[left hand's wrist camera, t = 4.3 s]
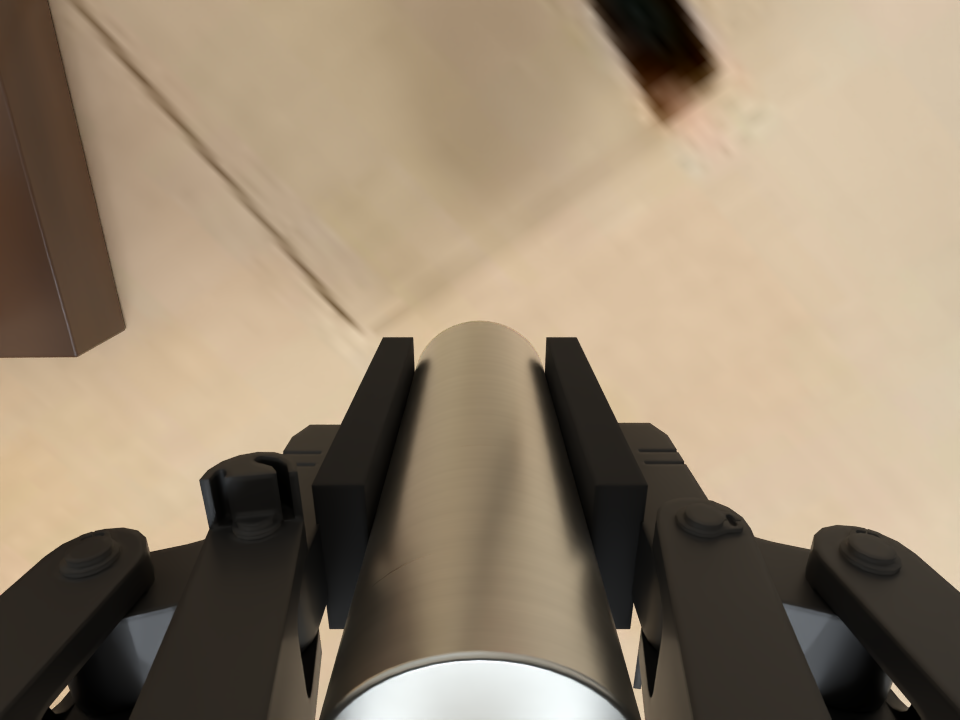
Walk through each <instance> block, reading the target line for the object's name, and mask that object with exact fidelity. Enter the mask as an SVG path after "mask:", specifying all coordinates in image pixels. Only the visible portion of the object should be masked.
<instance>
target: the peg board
mask: <svg viewBox="0 0 960 720" xmlns="http://www.w3.org/2000/svg"><path fill="white" fill-rule="evenodd" d="M124 330H125V325H124V321H123V317H122V313H121V308H120V304H119V300H118V296H117V291H116V287H115V283H114V279H113V275H112V270H111V266H110V262H109V258H108V254H107V249H106V245H105V241H104V237H103V233H102V228H101V224H100V220H99V216H98V212H97V207H96V203H95V199H94V195H93V191H92V186H91V182H90V178H89V174H88V170H87V165H86V161H85V157H84V153H83V149H82V144H81V140H80V136H79V132H78V128H77V123H76V119H75V115H74V111H73V107H72V102H71V98H70V94H69V90H68V86H67V81H66V77H65V73H64V69H63V64H62V60H61V56H60V52H59V48H58V43H57V39H56V35H55V31H54V27H53V22H52V18H51V14H50V10H49V6H48V1H47V0H0V358H26V357H78V356H80V355H82V354H83V353H85V352H87V351H89V350H91V349H92V348H94V347H96V346H98V345H99V344H101V343H103V342H105V341H106V340H108V339H110V338H112V337H114V336H115V335H117V334H119V333H121V332H122V331H124Z"/></svg>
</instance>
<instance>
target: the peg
mask: <svg viewBox="0 0 960 720" xmlns="http://www.w3.org/2000/svg"><path fill="white" fill-rule="evenodd" d="M319 720H641V717H640V714H639V710H638V707H637V703H636V699H635V696H634V692H633V689H632V685H631V682H630V678H629V674H628V671H627V667H626V664H625V660H624V656H623V653H622V649H621V646H620V642H619V638H618V635H617V631H616V628H615V624H614V620H613V617H612V613H611V610H610V606H609V602H608V599H607V595H606V592H605V588H604V585H603V581H602V577H601V574H600V570H599V567H598V563H597V559H596V556H595V552H594V549H593V545H592V541H591V538H590V534H589V531H588V527H587V523H586V520H585V516H584V513H583V509H582V505H581V502H580V498H579V495H578V491H577V488H576V484H575V480H574V477H573V473H572V470H571V466H570V462H569V459H568V455H567V452H566V448H565V444H564V441H563V437H562V434H561V430H560V426H559V423H558V419H557V416H556V412H555V408H554V405H553V401H552V398H551V394H550V390H549V387H548V383H547V380H546V376H545V373H544V369H543V366H542V363H541V360H540V358H539V355H538V353H537V352H536V350H535V349H534V347H533V346H532V345H531V344H530V342H529V341H528V340H527V339H526V338H524V337H523V336H522V335H521V334H520V333H518V332H516V331H515V330H513V329H511V328H509V327H507V326H505V325H502V324H498V323H494V322H489V321H470V322H465V323H461V324H458V325H455V326H452V327H450V328H448V329H446V330H444V331H443V332H441V333H440V334H438V335H437V336H436V337H435V338H434V339H432V341H431V342H430V343H429V344H428V345H427V346H426V348H425V349H424V351H423V352H422V354H421V356H420V358H419V360H418V363H417V366H416V370H415V373H414V377H413V381H412V384H411V388H410V392H409V395H408V399H407V402H406V406H405V410H404V413H403V417H402V421H401V424H400V428H399V432H398V435H397V439H396V442H395V446H394V450H393V453H392V457H391V461H390V464H389V468H388V471H387V475H386V479H385V482H384V486H383V490H382V493H381V497H380V501H379V504H378V508H377V511H376V515H375V519H374V522H373V526H372V530H371V533H370V537H369V540H368V544H367V548H366V551H365V555H364V559H363V562H362V566H361V570H360V573H359V577H358V580H357V584H356V588H355V591H354V595H353V599H352V602H351V606H350V609H349V613H348V617H347V620H346V624H345V628H344V631H343V635H342V638H341V642H340V646H339V649H338V653H337V657H336V660H335V664H334V668H333V671H332V675H331V678H330V682H329V686H328V689H327V693H326V697H325V700H324V704H323V707H322V711H321V715H320V718H319Z"/></svg>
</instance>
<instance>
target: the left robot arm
mask: <svg viewBox="0 0 960 720" xmlns="http://www.w3.org/2000/svg"><path fill="white" fill-rule="evenodd" d="M414 373H415V368H414V346H413V337H383V339H382V341H381V343H380V345H379V347H378V349H377V351H376V353H375V355H374V357H373V359H372V361H371V363H370V365H369V367H368V370H367V372H366V374H365V376H364V378H363V380H362V382H361V384H360V386H359V388H358V390H357V392H356V394H355V396H354V398H353V401H352V403H351V405H350V407H349V409H348V411H347V413H346V415H345V417H344V419H343V421H342V423H341V425H309V426H308V427H306V428H305V429H303V430H302V431H300V432H299V433H297V434H296V435H295V436H293V437H292V438H291V440H290V442H289V443H288V445H287V446H286V448H285V450H284V451H283V454H279V453H275V452H255V453H250V454H244V455H239V456H236V457H233V458H230V459H228V460H225V461H222V462H220V463H219V464H217V465H216V466H214V467H212V468H211V469H209V470H208V471H207V472H206V473H205V474H204V475H203V476H202V478H201V479H200V480H199V481H200V486H201V491H202V495H203V500H204V505H205V510H206V515H207V519H208V524H209V531H208V534H207V536H206V538H205V539H204V540H201V541H198V542H194V543H190V544H186V545H182V546H177V547H172V548H167V549H162V550H157V551H153V552H150V551H149V547H148V543H147V540H146V537H145V536H143V535H142V534H141V533H140V532H139V531H137V530H133V529H128V528H112V529H103V530H97V531H95V532H90V533H87V534H83V535H81V536H79V537H77V538H75V539H73V540H71V541H69V542H66V543H64V544H62V545H61V546H59V547H58V548H56V549H55V550H54V551H52V552H51V553H49V554H48V555H46V556H45V557H44V558H43V559H41V560H40V561H39V562H38V563H37V564H36V565H35V566H34V567H32V568H31V569H30V570H29V571H28V572H27V573H26V574H24V575H23V576H22V577H21V578H20V579H19V580H18V581H16V582H15V583H14V584H13V585H12V586H11V587H10V588H8V589H7V590H6V591H5V592H4V593H3V594H2V595H0V720H315V714H316V705H317V695H318V685H319V675H320V666H321V656H322V649H321V642H320V635H319V625H320V622H321V619H322V616H323V613H324V610H325V607H326V605H327V613H328V621H329V629H344V628H345V624H346V620H347V617H348V613H349V609H350V606H351V602H352V599H353V595H354V591H355V588H356V584H357V580H358V577H359V573H360V570H361V566H362V562H363V559H364V555H365V551H366V548H367V544H368V540H369V537H370V533H371V530H372V526H373V522H374V519H375V515H376V511H377V508H378V504H379V501H380V497H381V493H382V490H383V486H384V482H385V479H386V475H387V471H388V468H389V464H390V461H391V457H392V453H393V450H394V446H395V442H396V439H397V435H398V432H399V428H400V424H401V421H402V417H403V413H404V410H405V406H406V402H407V399H408V395H409V392H410V388H411V384H412V381H413V377H414ZM545 376H546V380H547V383H548V387H549V390H550V394H551V398H552V401H553V405H554V408H555V412H556V416H557V419H558V423H559V426H560V430H561V434H562V437H563V441H564V444H565V448H566V452H567V455H568V459H569V462H570V466H571V470H572V473H573V477H574V480H575V484H576V488H577V491H578V495H579V498H580V502H581V505H582V509H583V513H584V516H585V520H586V523H587V527H588V531H589V534H590V538H591V541H592V545H593V549H594V552H595V556H596V559H597V563H598V567H599V570H600V574H601V577H602V581H603V585H604V588H605V592H606V595H607V599H608V602H609V606H610V610H611V613H612V617H613V620H614V624H615V628H616V629H630V626H631V618H632V610H633V602H634V606H635V609H636V612H637V615H638V618H639V621H640V624H641V635H640V642H639V649H638V657H637V664H636V672H635V679H634V686H633V688H637V689H641V684H642V694H643V703H644V713H645V720H960V592H959V591H958V590H957V589H955V588H954V587H953V586H952V585H951V584H950V583H948V582H947V581H946V580H945V579H944V578H943V577H942V576H940V575H939V574H938V573H937V572H936V571H935V570H934V569H932V568H931V567H930V566H929V565H928V564H927V563H925V562H924V561H923V560H922V559H921V558H920V557H919V556H917V555H916V554H915V553H914V552H912V551H911V550H909V549H908V548H906V547H905V546H903V545H902V544H901V543H899V542H898V541H895V540H893V539H891V538H889V537H887V536H884V535H882V534H880V533H878V532H876V531H873V530H869V529H868V530H867V529H865V528H861V527H856V526H843V525H835V526H830V527H825V528H822V529H821V530H820V531H818V532H817V533H816V534H815V535H814V538H813V542H812V545H811V549H805V548H800V547H795V546H790V545H785V544H780V543H775V542H771V541H767V540H764V539H760V538H757V537H754V535H753V533H752V530H751V528H750V527H749V525H748V524H747V523H746V521H745V520H744V519H743V517H741V516H740V515H739V514H737V513H736V512H734V511H733V510H731V509H730V508H728V507H726V506H724V505H721V504H719V503H716V502H714V501H711V500H708V499H707V497H706V495H705V494H704V492H703V491H702V489H701V487H700V486H699V484H698V483H697V481H696V480H695V478H694V476H693V475H692V473H691V472H690V470H689V468H688V467H687V465H686V464H684V461H683V459H682V457H681V456H680V454H679V453H678V452H677V451H676V450H677V449H676V448H675V446H674V445H673V443H672V441H671V440H670V438H669V437H668V435H667V434H665V433H664V432H662V431H661V430H659V429H658V428H656V427H655V426H653V425H652V424H651V423H618V422H617V420H616V418H615V416H614V414H613V412H612V410H611V408H610V406H609V403H608V401H607V399H606V397H605V395H604V393H603V391H602V389H601V387H600V385H599V383H598V381H597V379H596V377H595V375H594V372H593V370H592V368H591V366H590V364H589V362H588V360H587V358H586V356H585V354H584V352H583V350H582V348H581V346H580V343H579V341H578V339H577V337H546V359H545ZM892 682H894V684H895V685H896V686H897V687H898V688H899V690H900V691H901V692H902V693H903V694H904V696H905V697H906V698H907V699H908V700H909V702H910V703H911V706H910V707H907V706H906V705H905V704H904V703H903V702H902V701H901V700H900V699H899V698H898V697H897V696H896V695H895V693H894V692H893V691H892V690H891V689H890V688H891V685H892ZM67 685H68V687H69V689H70V691H69V692H68V694H67V695H66V696H65V697H64V699H63V700H62V701H61V702H60V703H59V704H58V705H57V706H55V707H54V708H53V709H52V710H51V709H50V708H49V706H50V705H51V704H52V703H53V702H54V700H55V699H56V698H57V697H58V696H59V694H60V693H61V692H62V691H63V690H64V688H65V687H66V686H67Z"/></svg>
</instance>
